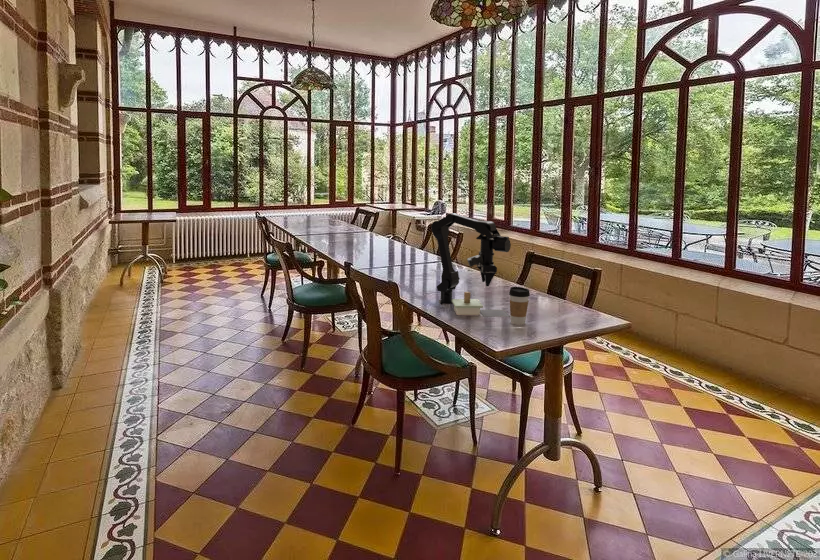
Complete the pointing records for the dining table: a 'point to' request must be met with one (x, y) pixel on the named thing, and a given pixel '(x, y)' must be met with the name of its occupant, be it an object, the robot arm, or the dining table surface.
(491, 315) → the mat
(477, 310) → the cream square tray
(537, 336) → the dining table surface
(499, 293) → the dining table surface
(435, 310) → the dining table surface
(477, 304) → the lid
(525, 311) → the coffee cup
